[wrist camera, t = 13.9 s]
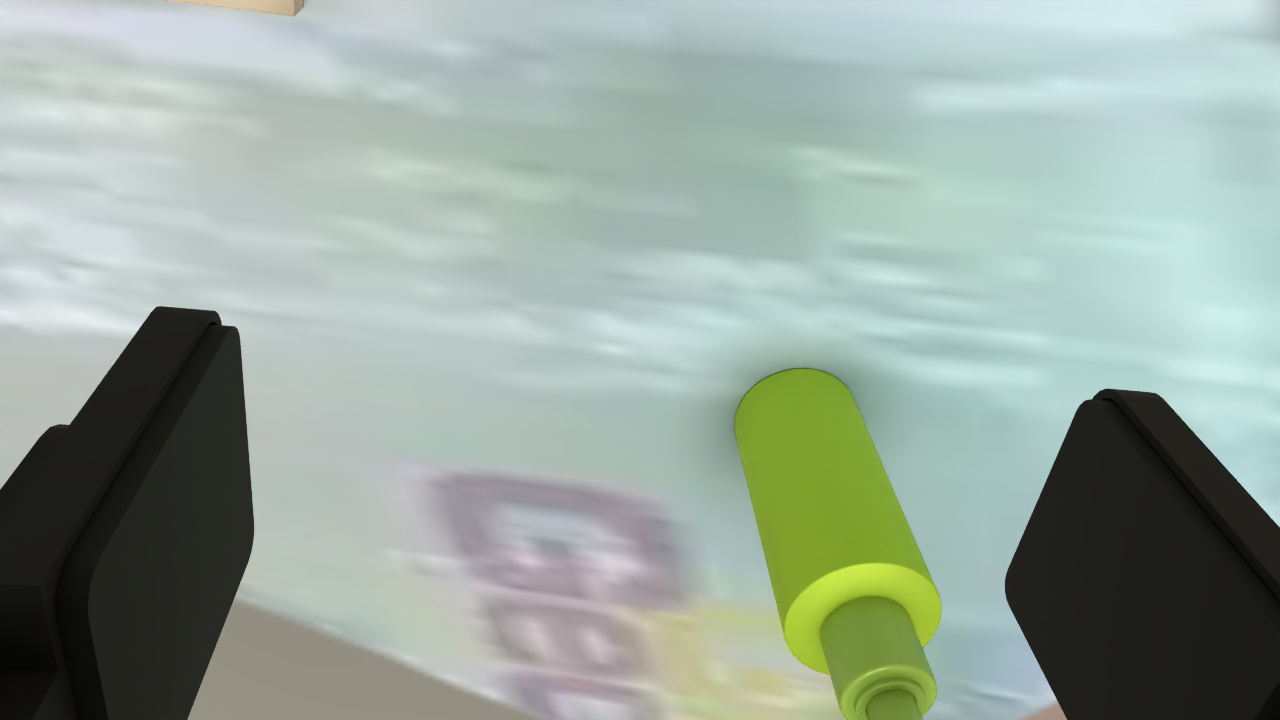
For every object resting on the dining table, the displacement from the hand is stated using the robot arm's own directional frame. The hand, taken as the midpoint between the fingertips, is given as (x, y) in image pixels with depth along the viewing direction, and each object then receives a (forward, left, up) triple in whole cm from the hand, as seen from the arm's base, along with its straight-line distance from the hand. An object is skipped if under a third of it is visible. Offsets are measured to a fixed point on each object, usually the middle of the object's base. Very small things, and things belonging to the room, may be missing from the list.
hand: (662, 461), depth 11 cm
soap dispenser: (+20, +12, -31) cm, 38 cm away
